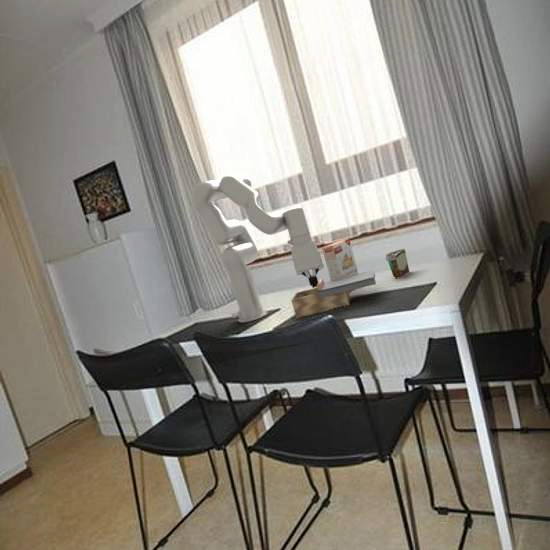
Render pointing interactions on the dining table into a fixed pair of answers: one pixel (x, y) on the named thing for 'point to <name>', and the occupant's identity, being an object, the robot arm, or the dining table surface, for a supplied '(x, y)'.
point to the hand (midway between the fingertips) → (315, 286)
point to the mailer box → (317, 302)
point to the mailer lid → (346, 284)
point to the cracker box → (340, 260)
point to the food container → (398, 263)
